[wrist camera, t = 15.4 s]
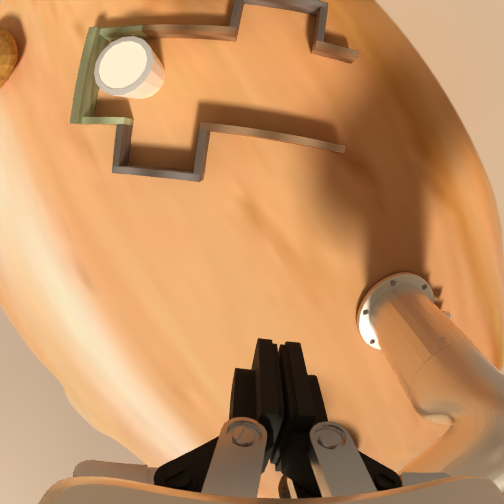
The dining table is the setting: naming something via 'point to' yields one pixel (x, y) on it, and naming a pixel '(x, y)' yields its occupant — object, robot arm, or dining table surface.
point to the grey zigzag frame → (86, 104)
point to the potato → (7, 55)
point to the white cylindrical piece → (129, 69)
